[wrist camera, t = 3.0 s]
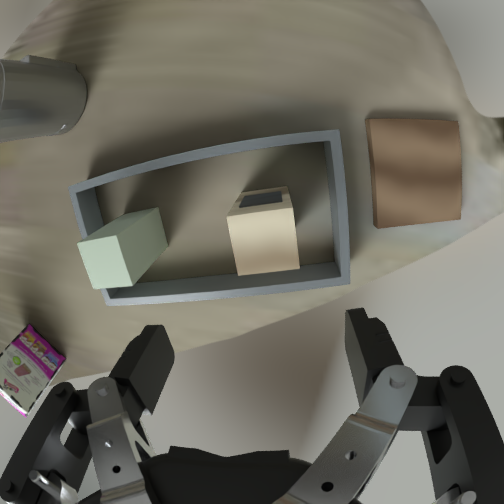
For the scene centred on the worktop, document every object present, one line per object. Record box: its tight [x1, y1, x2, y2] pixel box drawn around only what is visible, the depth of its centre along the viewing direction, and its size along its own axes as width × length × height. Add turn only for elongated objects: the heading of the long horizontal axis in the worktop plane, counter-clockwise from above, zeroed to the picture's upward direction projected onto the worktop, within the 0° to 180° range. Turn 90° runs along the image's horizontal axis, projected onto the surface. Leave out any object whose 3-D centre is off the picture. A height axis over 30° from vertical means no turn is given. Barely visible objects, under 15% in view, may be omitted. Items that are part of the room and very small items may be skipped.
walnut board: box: [365, 119, 462, 229], centre depth 27 cm, size 12×12×2 cm
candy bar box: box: [0, 324, 66, 418], centre depth 37 cm, size 11×5×16 cm, turn 47°
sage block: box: [77, 207, 168, 289], centre depth 29 cm, size 5×5×10 cm
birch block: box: [226, 186, 300, 276], centre depth 26 cm, size 5×5×10 cm
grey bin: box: [68, 129, 350, 306], centre depth 30 cm, size 16×30×4 cm, turn 99°
